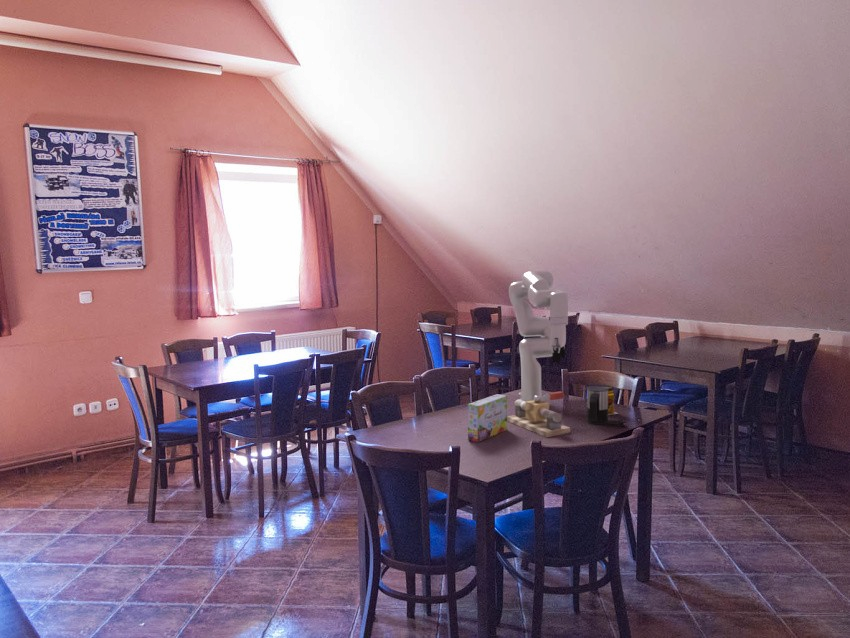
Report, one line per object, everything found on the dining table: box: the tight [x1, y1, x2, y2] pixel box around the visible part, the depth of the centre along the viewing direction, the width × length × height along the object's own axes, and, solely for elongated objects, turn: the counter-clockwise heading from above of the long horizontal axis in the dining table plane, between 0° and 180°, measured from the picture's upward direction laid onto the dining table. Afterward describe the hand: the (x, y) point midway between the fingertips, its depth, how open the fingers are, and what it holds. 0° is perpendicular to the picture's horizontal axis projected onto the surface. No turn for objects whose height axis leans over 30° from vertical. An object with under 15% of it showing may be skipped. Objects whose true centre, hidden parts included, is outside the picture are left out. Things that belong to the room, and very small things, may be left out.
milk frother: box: [586, 385, 627, 426], centre depth 271 cm, size 14×16×15 cm
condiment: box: [602, 385, 619, 416], centre depth 288 cm, size 7×8×12 cm
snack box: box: [467, 393, 508, 443], centre depth 260 cm, size 21×6×15 cm, turn 140°
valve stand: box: [507, 398, 571, 438], centre depth 270 cm, size 28×12×10 cm, turn 27°
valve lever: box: [534, 391, 564, 402], centre depth 272 cm, size 14×3×3 cm, turn 117°
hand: (558, 359), depth 275 cm, fingers open, 9 cm apart
